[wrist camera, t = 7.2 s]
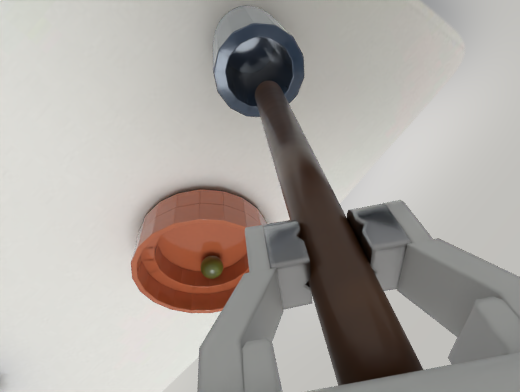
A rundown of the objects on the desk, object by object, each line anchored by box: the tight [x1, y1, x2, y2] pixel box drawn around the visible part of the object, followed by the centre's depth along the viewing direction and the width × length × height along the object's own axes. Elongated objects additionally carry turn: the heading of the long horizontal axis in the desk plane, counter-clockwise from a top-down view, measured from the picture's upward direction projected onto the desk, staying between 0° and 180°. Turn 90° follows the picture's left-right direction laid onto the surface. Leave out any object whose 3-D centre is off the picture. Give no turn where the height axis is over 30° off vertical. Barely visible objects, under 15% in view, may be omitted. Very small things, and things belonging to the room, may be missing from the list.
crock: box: [213, 6, 304, 117], centre depth 25 cm, size 6×6×9 cm
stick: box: [255, 81, 423, 386], centre depth 11 cm, size 2×2×20 cm
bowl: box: [131, 189, 267, 313], centre depth 39 cm, size 16×16×6 cm
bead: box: [200, 256, 223, 279], centre depth 42 cm, size 3×3×3 cm
